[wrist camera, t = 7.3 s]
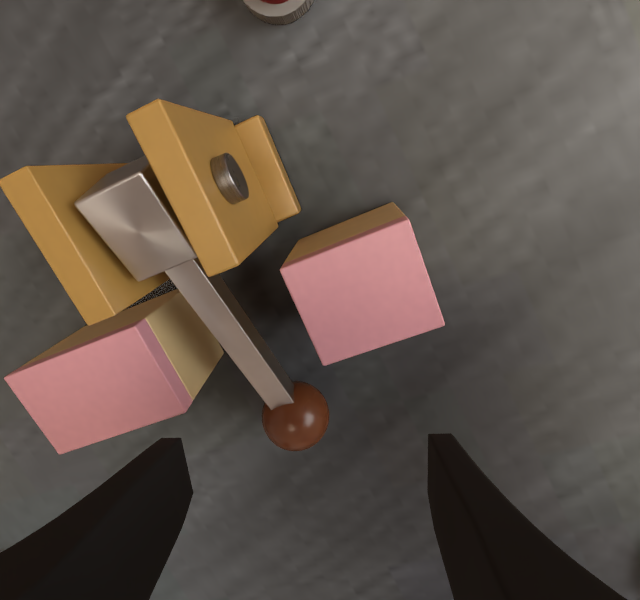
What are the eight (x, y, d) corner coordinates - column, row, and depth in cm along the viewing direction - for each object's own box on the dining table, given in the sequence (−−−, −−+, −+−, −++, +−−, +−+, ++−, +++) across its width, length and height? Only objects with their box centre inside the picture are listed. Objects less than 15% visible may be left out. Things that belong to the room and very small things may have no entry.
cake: (224, 352, 20) (186, 412, 15) (123, 389, 21) (58, 455, 16) (188, 284, 19) (134, 325, 14) (84, 326, 20) (2, 377, 15)
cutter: (336, 399, 20) (342, 453, 18) (281, 416, 21) (279, 472, 18) (178, 137, 13) (149, 168, 10) (98, 176, 13) (53, 214, 11)
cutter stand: (304, 214, 18) (273, 251, 11) (166, 271, 19) (60, 338, 12) (260, 111, 16) (195, 78, 9) (116, 180, 18) (-34, 195, 11)
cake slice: (421, 282, 18) (446, 326, 13) (330, 315, 19) (323, 367, 14) (393, 201, 17) (409, 218, 12) (297, 240, 18) (278, 269, 13)
